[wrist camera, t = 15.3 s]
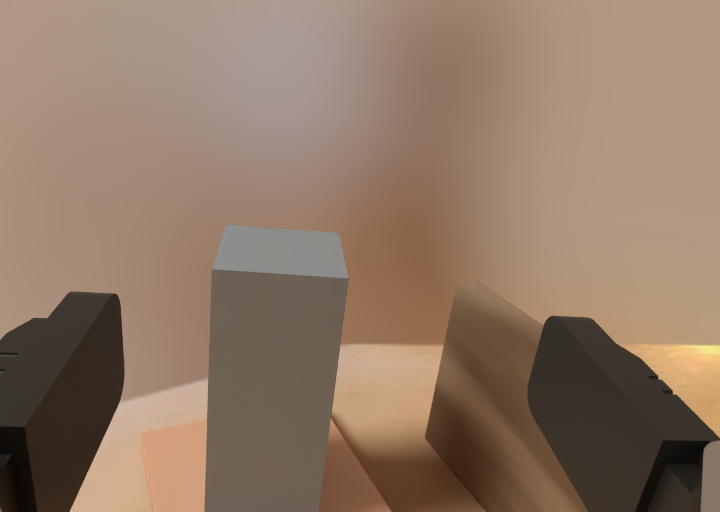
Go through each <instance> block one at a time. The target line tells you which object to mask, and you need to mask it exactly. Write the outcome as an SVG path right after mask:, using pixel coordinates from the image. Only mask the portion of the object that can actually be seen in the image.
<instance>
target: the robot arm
mask: <svg viewBox="0 0 720 512" xmlns="http://www.w3.org/2000/svg"><path fill="white" fill-rule="evenodd" d="M123 384H124V354H123V337H122V321H121V306H120V301H119V297H118V296H117V294H111V293H91V292H69V293H68V294H67V295H66V296H65V298H64V299H63V300H62V301H61V303H60V304H59V305H58V306H57V307H56V309H55V310H54V311H53V312H52V313H51V315H50V316H49V317H48V318H33V319H31V320H30V321H28V322H26V323H24V324H23V325H21V326H19V327H17V328H15V329H14V330H12V331H10V332H8V333H7V334H5V336H4V337H3V338H2V339H1V340H0V512H70V509H71V507H72V505H73V503H74V501H75V498H76V496H77V494H78V492H79V490H80V488H81V485H82V483H83V481H84V479H85V477H86V474H87V472H88V470H89V468H90V466H91V464H92V461H93V459H94V457H95V455H96V453H97V450H98V448H99V446H100V444H101V442H102V440H103V437H104V435H105V433H106V431H107V429H108V426H109V424H110V422H111V420H112V418H113V416H114V413H115V411H116V409H117V407H118V404H119V402H120V399H121V395H122V390H123ZM527 397H528V405H529V409H530V412H531V414H532V416H533V418H534V420H535V421H536V423H537V425H538V427H539V428H540V430H541V432H542V433H543V435H544V437H545V439H546V440H547V442H548V444H549V445H550V447H551V449H552V451H553V452H554V454H555V456H556V457H557V459H558V461H559V463H560V464H561V466H562V468H563V469H564V471H565V473H566V475H567V476H568V478H569V480H570V481H571V483H572V485H573V487H574V488H575V490H576V492H577V493H578V495H579V497H580V499H581V500H582V502H583V504H584V505H585V507H586V509H587V511H588V512H720V438H719V437H718V436H717V435H716V434H715V433H714V432H713V431H712V430H711V429H710V428H709V427H708V426H707V425H706V424H705V423H704V422H703V421H702V420H701V419H700V418H699V417H698V416H697V415H696V414H695V413H694V412H693V411H692V410H691V409H690V408H689V407H688V406H687V405H686V404H685V403H684V402H683V401H682V400H681V399H680V398H679V397H678V396H677V395H673V391H672V390H671V389H670V388H669V387H668V386H667V385H666V384H665V383H664V382H663V381H662V380H658V376H657V375H656V374H655V373H654V372H653V371H652V370H651V369H650V367H649V366H648V365H647V364H646V363H645V362H644V361H643V360H642V359H640V358H639V357H637V356H635V355H634V354H632V353H631V352H629V351H627V350H626V349H624V348H623V347H621V346H619V345H618V344H616V343H615V342H614V341H613V340H612V339H611V338H610V337H609V336H608V335H607V334H606V333H605V332H604V330H603V329H601V327H600V326H599V325H598V324H597V323H596V322H595V321H594V320H593V319H591V318H586V317H566V316H551V317H549V318H548V319H547V320H546V322H545V324H544V326H543V329H542V333H541V337H540V341H539V344H538V348H537V352H536V356H535V359H534V363H533V367H532V371H531V374H530V378H529V382H528V390H527Z"/></svg>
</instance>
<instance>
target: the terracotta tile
mask: <svg viewBox="0 0 720 512" xmlns="http://www.w3.org/2000/svg"><path fill="white" fill-rule="evenodd" d="M206 443H207V421H203V422H198V423H192V424H187V425H182V426H176V427H171V428H166V429H161V430H155V431H150V432H145V433H141V451H142V456H143V462H144V467H145V472H146V477H147V483H148V488H149V493H150V498H151V503H152V509H153V512H204V507H205V475H206ZM319 512H392V511H391V510H390V508H389V507H388V505H387V504H386V502H385V501H384V499H383V497H382V496H381V494H380V493H379V491H378V490H377V488H376V487H375V485H374V484H373V482H372V481H371V479H370V478H369V476H368V474H367V473H366V471H365V470H364V468H363V467H362V465H361V464H360V462H359V461H358V459H357V458H356V456H355V455H354V453H353V451H352V450H351V448H350V447H349V445H348V444H347V442H346V441H345V439H344V438H343V436H342V435H341V433H340V432H339V430H338V428H337V427H336V425H335V424H334V422H333V421H332V419H331V421H330V429H329V437H328V445H327V453H326V460H325V468H324V476H323V484H322V492H321V500H320V507H319Z"/></svg>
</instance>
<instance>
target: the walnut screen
mask: <svg viewBox="0 0 720 512" xmlns="http://www.w3.org/2000/svg"><path fill="white" fill-rule="evenodd" d="M542 329H543V325H542V324H540V323H539V322H538V321H536V320H535V319H533V318H532V317H530V316H529V315H527V314H526V313H524V312H523V311H521V310H520V309H518V308H517V307H515V306H514V305H512V304H511V303H509V302H508V301H507V300H505V299H504V298H502V297H501V296H499V295H498V294H496V293H495V292H493V291H492V290H490V289H489V288H487V287H486V286H484V285H483V284H481V283H480V282H473V283H463V284H456V289H455V294H454V298H453V304H452V308H451V313H450V318H449V323H448V328H447V333H446V338H445V342H444V347H443V352H442V357H441V362H440V367H439V372H438V377H437V382H436V386H435V391H434V396H433V401H432V406H431V411H430V416H429V421H428V426H427V430H426V435H425V438H426V440H427V441H428V442H429V443H430V444H431V446H432V447H433V448H434V449H435V450H436V452H437V453H438V454H439V455H440V456H441V458H442V459H443V460H444V461H445V462H446V464H447V465H448V466H449V467H450V468H451V470H452V471H453V472H454V473H455V474H456V475H457V477H458V478H459V479H460V480H461V481H462V483H463V484H464V485H465V486H466V487H467V489H468V490H469V491H470V492H471V493H472V495H473V496H474V497H475V498H476V499H477V501H478V502H479V503H480V504H481V505H482V507H483V508H484V509H485V510H486V511H487V512H588V511H587V509H586V507H585V505H584V504H583V502H582V500H581V499H580V497H579V495H578V493H577V492H576V490H575V488H574V487H573V485H572V483H571V481H570V480H569V478H568V476H567V475H566V473H565V471H564V469H563V468H562V466H561V464H560V463H559V461H558V459H557V457H556V456H555V454H554V452H553V451H552V449H551V447H550V445H549V444H548V442H547V440H546V439H545V437H544V435H543V433H542V432H541V430H540V428H539V427H538V425H537V423H536V421H535V420H534V418H533V416H532V414H531V412H530V409H529V405H528V397H527V390H528V382H529V378H530V374H531V371H532V367H533V363H534V359H535V356H536V352H537V348H538V344H539V341H540V337H541V333H542Z"/></svg>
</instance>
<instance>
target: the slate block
mask: <svg viewBox="0 0 720 512" xmlns="http://www.w3.org/2000/svg"><path fill="white" fill-rule="evenodd" d="M348 280H349V278H348V273H347V269H346V264H345V260H344V255H343V252H342V247H341V242H340V238H339V234H338V233H329V232H315V231H304V230H291V229H279V228H266V227H253V226H241V225H228V224H227V225H226V227H225V230H224V234H223V237H222V240H221V243H220V246H219V249H218V252H217V255H216V258H215V261H214V264H213V267H212V284H211V315H210V316H211V317H210V347H209V378H208V411H207V443H206V475H205V507H204V512H319V507H320V500H321V492H322V484H323V476H324V468H325V460H326V453H327V445H328V437H329V429H330V421H331V413H332V406H333V398H334V390H335V382H336V374H337V366H338V359H339V351H340V343H341V335H342V327H343V319H344V312H345V304H346V296H347V288H348Z"/></svg>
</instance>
